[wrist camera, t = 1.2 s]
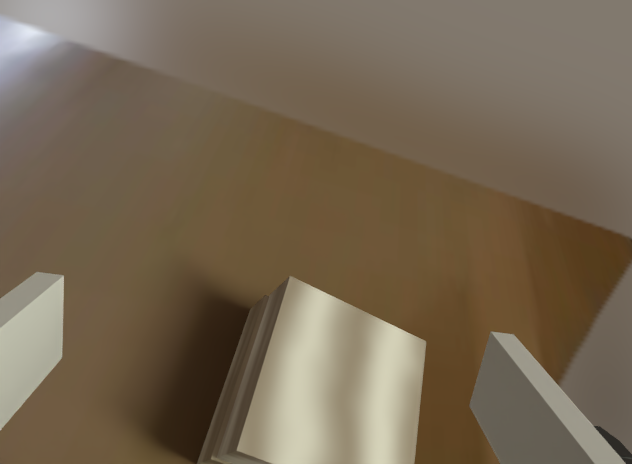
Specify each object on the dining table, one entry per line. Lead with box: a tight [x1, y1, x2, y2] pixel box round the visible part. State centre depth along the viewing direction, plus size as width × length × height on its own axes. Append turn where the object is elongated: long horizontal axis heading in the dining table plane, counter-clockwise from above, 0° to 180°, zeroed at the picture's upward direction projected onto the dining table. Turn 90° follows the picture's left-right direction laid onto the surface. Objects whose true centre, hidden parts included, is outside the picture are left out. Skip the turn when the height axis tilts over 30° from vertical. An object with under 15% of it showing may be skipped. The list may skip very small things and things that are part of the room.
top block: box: [217, 276, 426, 464], centre depth 38 cm, size 13×13×4 cm
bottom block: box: [197, 295, 269, 464], centre depth 40 cm, size 13×13×4 cm
